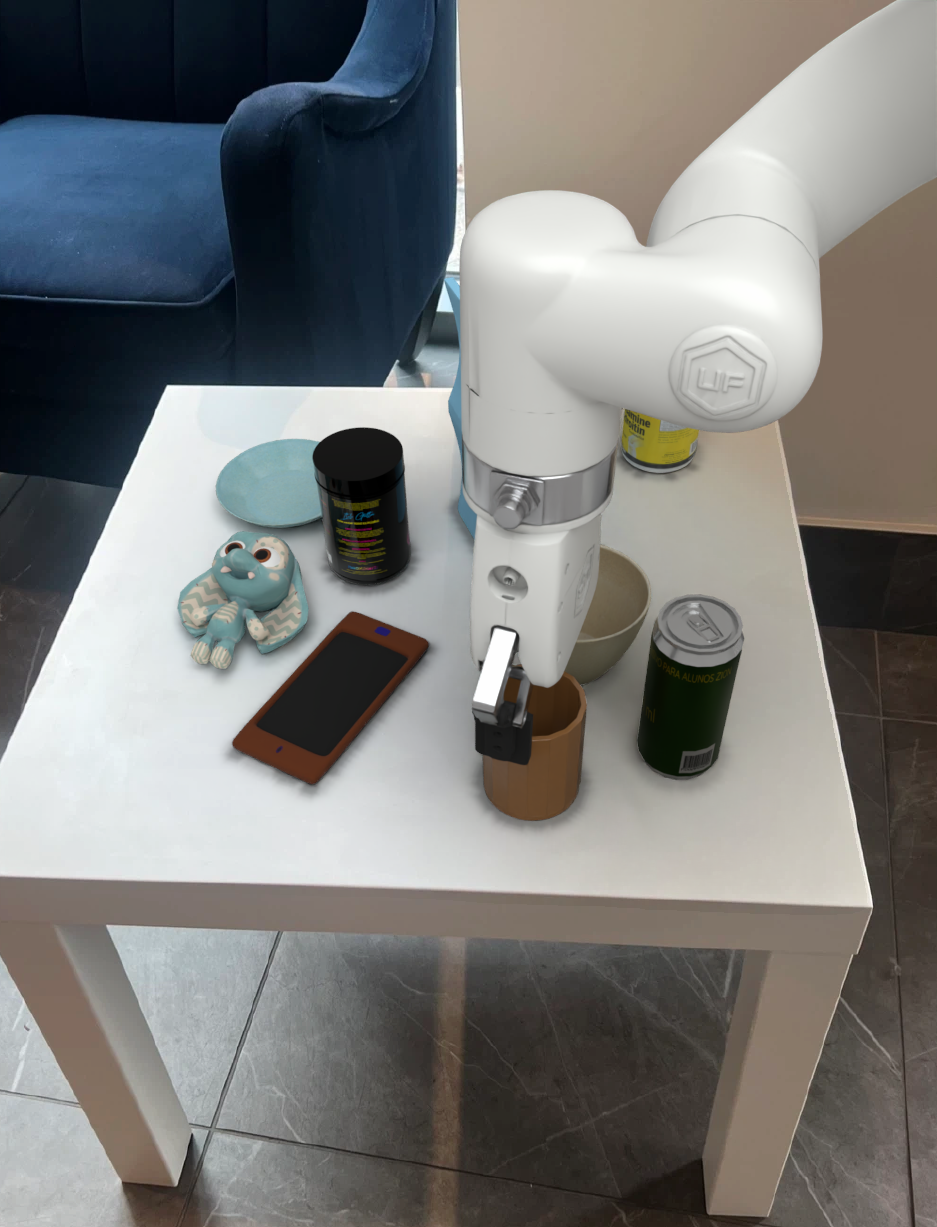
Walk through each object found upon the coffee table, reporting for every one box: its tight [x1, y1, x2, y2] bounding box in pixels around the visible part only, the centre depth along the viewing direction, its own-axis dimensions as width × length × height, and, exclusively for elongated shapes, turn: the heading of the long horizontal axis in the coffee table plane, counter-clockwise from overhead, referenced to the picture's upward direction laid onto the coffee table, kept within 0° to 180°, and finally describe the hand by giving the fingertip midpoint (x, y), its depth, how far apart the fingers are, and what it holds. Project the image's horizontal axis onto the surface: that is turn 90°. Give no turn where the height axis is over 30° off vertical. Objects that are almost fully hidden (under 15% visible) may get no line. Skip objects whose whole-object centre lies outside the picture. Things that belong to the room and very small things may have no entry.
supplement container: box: [312, 426, 412, 586], centre depth 85 cm, size 7×7×10 cm
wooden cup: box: [481, 663, 588, 822], centre depth 70 cm, size 6×6×8 cm
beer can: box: [636, 593, 745, 781], centre depth 69 cm, size 5×5×12 cm
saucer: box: [215, 438, 322, 529], centre depth 94 cm, size 12×12×2 cm
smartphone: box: [231, 610, 430, 785], centre depth 78 cm, size 7×1×15 cm
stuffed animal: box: [176, 530, 310, 670], centre depth 82 cm, size 11×7×12 cm
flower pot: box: [564, 543, 653, 686], centre depth 77 cm, size 10×10×7 cm
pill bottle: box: [620, 409, 700, 474], centre depth 92 cm, size 6×6×12 cm
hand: (527, 696), depth 67 cm, fingers open, 9 cm apart
